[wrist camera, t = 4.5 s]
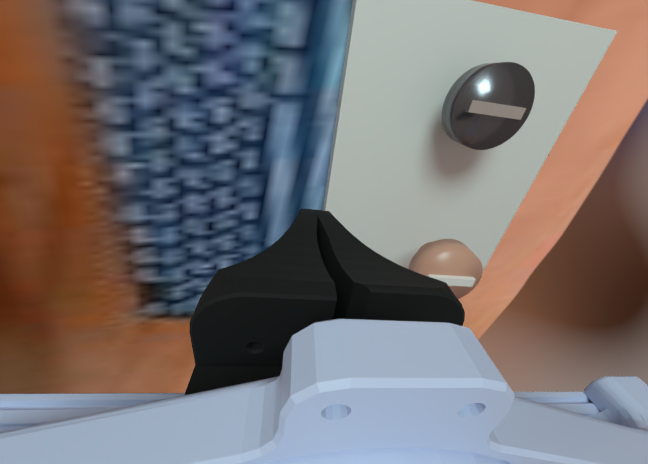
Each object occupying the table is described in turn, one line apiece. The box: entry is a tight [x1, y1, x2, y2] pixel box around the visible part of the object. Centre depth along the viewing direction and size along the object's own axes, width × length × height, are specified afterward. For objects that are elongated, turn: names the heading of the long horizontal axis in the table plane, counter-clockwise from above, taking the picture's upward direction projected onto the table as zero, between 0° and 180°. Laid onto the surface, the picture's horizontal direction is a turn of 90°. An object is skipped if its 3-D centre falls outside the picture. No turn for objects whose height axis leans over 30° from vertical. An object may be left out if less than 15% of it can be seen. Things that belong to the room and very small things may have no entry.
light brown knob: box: [408, 239, 483, 299], centre depth 18 cm, size 4×4×3 cm
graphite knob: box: [442, 62, 535, 150], centre depth 16 cm, size 4×4×3 cm
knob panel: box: [323, 0, 617, 270], centre depth 20 cm, size 20×16×2 cm
